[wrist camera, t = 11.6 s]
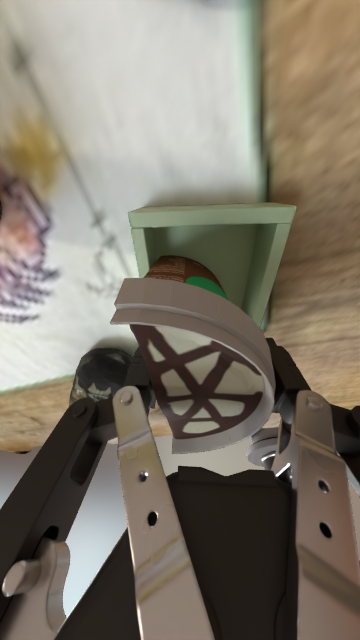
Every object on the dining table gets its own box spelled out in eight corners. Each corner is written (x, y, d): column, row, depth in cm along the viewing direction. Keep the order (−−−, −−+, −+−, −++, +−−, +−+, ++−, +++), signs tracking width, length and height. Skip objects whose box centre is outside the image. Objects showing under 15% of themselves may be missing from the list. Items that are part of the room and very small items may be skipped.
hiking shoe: (158, 354, 22) (141, 441, 14) (117, 422, 33) (96, 489, 26) (88, 329, 20) (25, 414, 12) (71, 410, 31) (34, 479, 24)
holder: (237, 354, 21) (244, 379, 18) (161, 353, 21) (157, 377, 19) (272, 202, 12) (297, 205, 9) (141, 207, 12) (127, 212, 10)
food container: (234, 347, 19) (265, 457, 11) (179, 350, 20) (173, 457, 12) (242, 222, 12) (342, 283, 4) (156, 235, 13) (102, 307, 5)
